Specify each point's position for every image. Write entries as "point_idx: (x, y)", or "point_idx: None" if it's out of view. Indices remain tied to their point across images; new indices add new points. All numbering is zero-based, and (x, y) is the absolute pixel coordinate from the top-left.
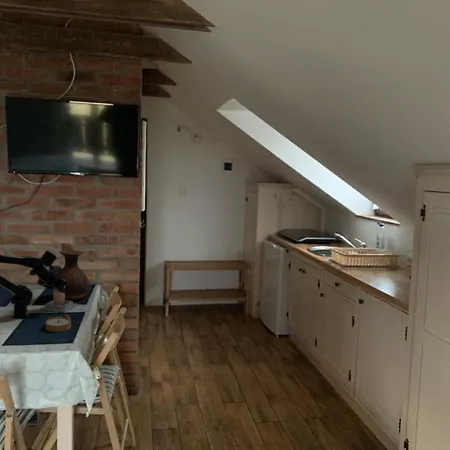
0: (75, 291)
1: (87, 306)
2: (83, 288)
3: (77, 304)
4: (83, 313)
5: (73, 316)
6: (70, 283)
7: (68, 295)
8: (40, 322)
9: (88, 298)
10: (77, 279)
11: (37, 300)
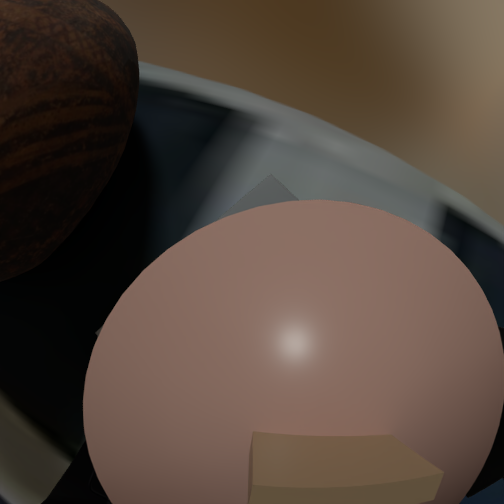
0: (124, 110)
1: (317, 132)
2: (133, 43)
3: (272, 179)
4: (468, 226)
5: (500, 307)
6: (48, 96)
7: (102, 186)
8: (492, 490)
9: None
10: (60, 13)
11: (3, 386)
